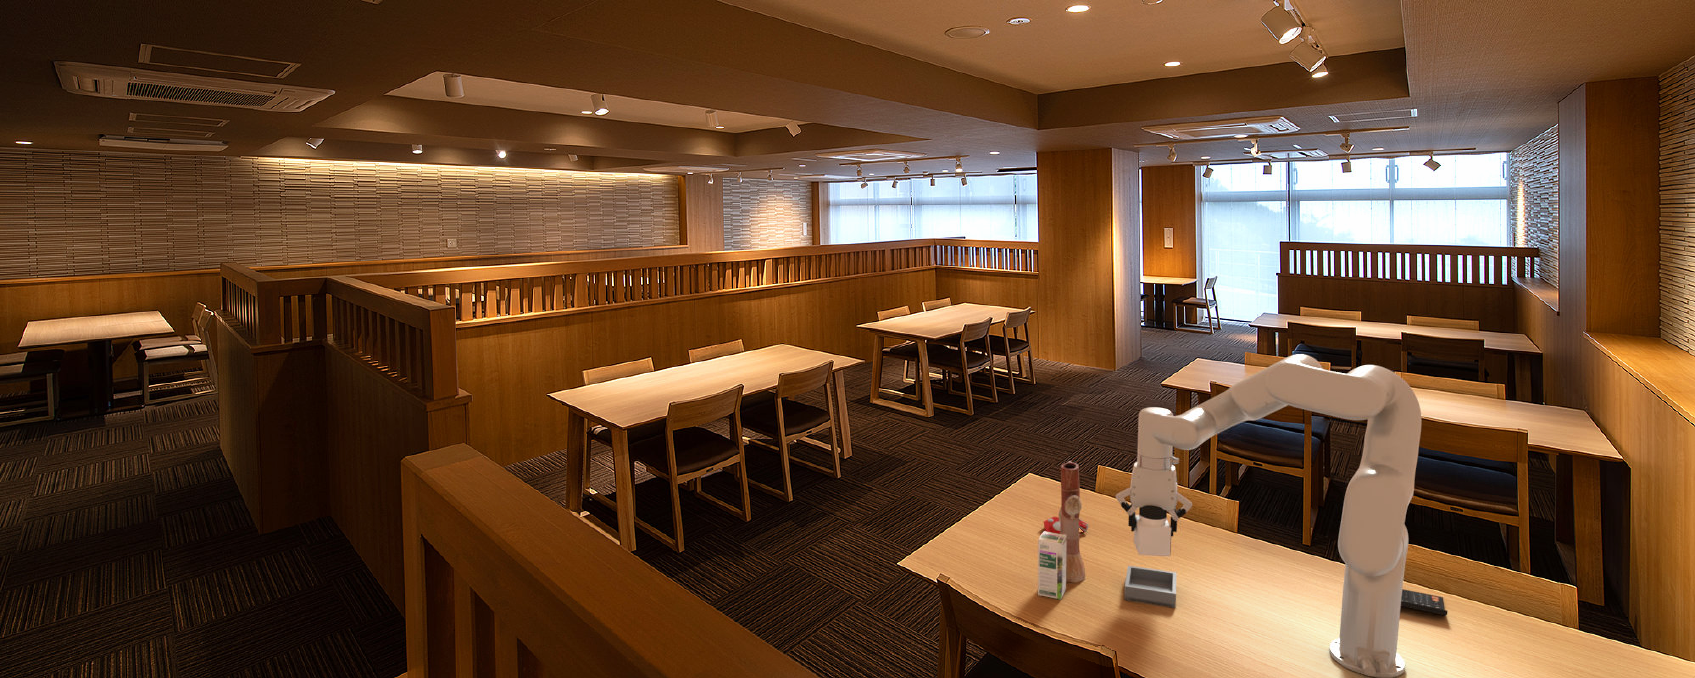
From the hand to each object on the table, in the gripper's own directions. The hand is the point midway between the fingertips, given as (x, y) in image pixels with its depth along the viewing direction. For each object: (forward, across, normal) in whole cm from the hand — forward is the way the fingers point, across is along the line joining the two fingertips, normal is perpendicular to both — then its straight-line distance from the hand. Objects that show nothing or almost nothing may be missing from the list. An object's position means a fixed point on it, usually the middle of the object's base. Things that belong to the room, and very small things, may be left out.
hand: (1152, 531), depth 181 cm
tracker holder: (+16, +24, -28) cm, 40 cm away
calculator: (+16, -56, -13) cm, 60 cm away
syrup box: (+16, +22, +8) cm, 28 cm away
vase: (+16, +19, -2) cm, 25 cm away
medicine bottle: (+5, 0, 0) cm, 5 cm away
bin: (+16, 0, 0) cm, 16 cm away
